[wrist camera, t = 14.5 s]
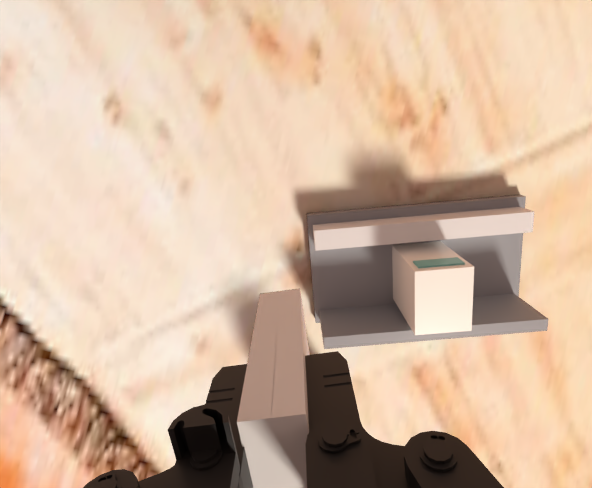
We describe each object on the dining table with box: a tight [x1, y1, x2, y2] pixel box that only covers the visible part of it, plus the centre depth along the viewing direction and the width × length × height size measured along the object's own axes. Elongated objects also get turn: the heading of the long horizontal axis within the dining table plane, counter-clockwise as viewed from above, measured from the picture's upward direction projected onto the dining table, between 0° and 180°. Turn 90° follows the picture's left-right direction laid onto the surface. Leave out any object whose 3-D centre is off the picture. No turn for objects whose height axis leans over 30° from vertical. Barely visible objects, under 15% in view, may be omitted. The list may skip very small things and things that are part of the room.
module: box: [392, 241, 474, 335], centre depth 38 cm, size 6×5×8 cm
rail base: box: [307, 195, 548, 349], centre depth 40 cm, size 12×22×7 cm, turn 95°
